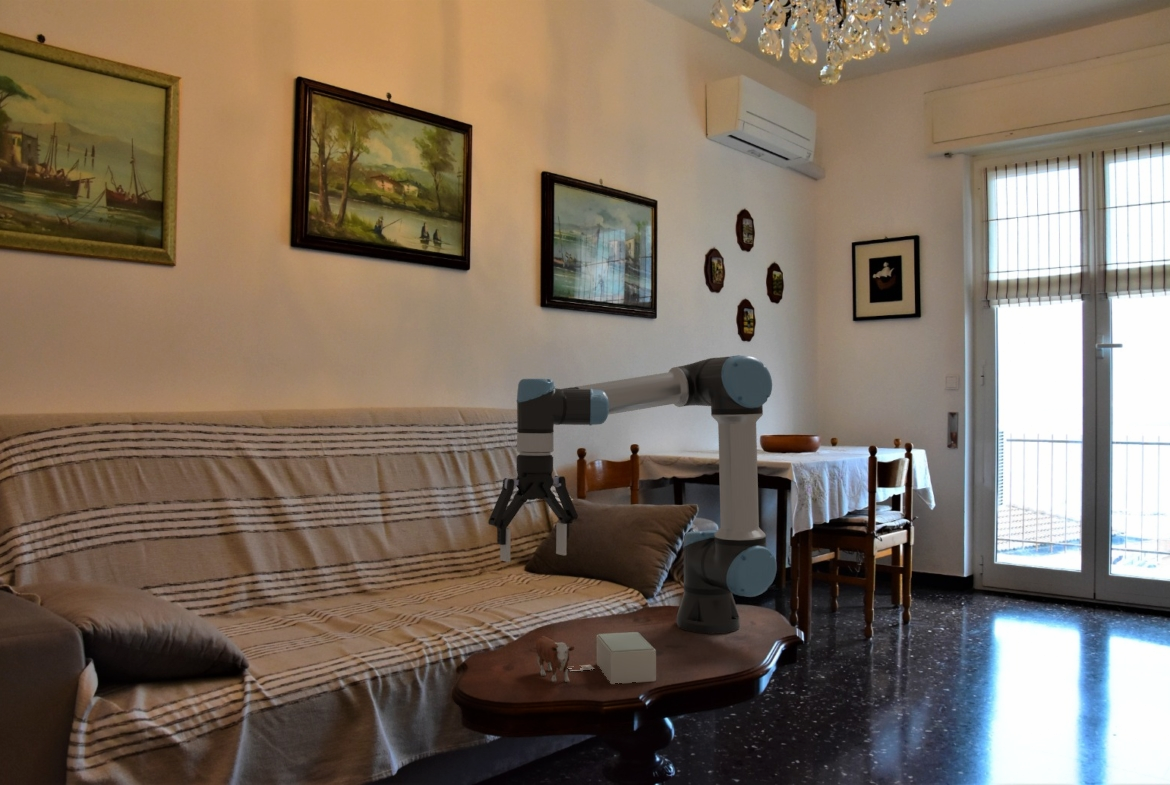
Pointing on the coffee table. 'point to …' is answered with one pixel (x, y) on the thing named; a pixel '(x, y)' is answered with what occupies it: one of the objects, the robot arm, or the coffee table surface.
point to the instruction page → (583, 668)
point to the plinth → (626, 657)
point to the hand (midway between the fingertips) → (533, 557)
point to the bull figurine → (553, 656)
